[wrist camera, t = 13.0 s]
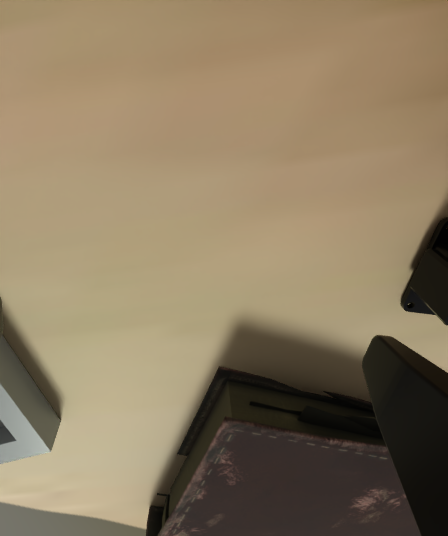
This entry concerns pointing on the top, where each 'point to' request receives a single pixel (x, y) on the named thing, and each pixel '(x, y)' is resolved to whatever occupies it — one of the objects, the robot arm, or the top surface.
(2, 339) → the power strip
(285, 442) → the diary
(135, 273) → the top surface
